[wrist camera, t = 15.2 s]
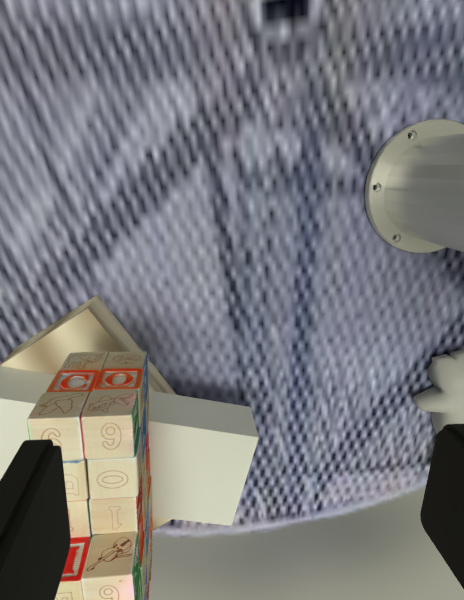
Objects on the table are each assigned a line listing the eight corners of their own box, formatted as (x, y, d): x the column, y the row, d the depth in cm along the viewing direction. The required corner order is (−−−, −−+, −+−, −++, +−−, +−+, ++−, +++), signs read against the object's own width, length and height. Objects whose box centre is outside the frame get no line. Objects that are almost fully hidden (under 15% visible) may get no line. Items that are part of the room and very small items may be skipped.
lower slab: (98, 292, 42) (87, 308, 37) (226, 454, 49) (230, 484, 45) (18, 344, 43) (-3, 367, 38) (156, 496, 50) (153, 530, 45)
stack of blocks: (67, 349, 33) (4, 451, 21) (148, 348, 34) (130, 446, 22) (86, 558, 39) (45, 723, 28) (153, 553, 40) (142, 712, 28)
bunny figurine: (508, 350, 44) (523, 474, 47) (476, 337, 49) (491, 449, 52) (422, 374, 44) (442, 497, 47) (399, 358, 49) (419, 470, 52)
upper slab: (-3, 365, 38) (-30, 393, 33) (250, 407, 42) (258, 437, 37) (-13, 457, 41) (-39, 495, 36) (226, 487, 45) (231, 525, 40)
